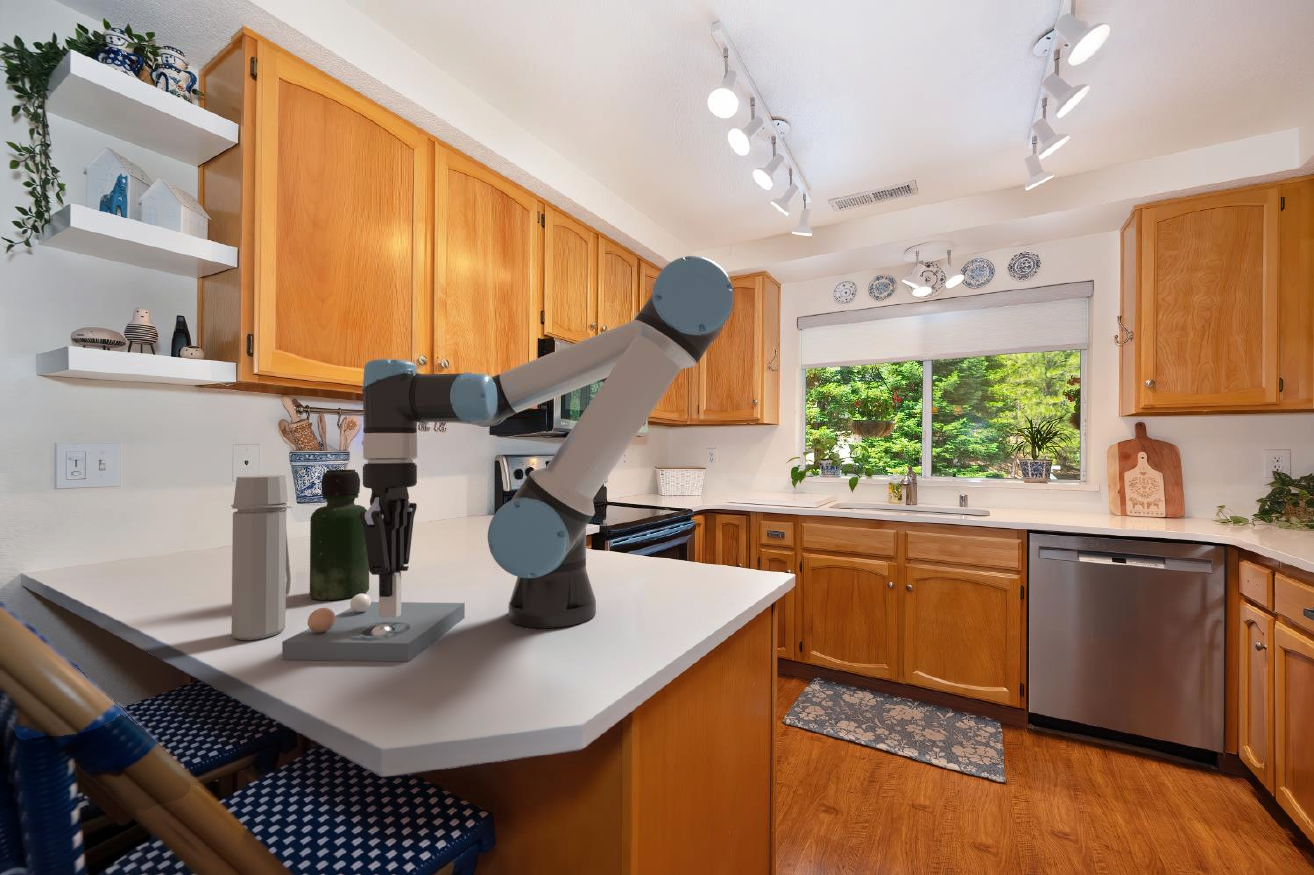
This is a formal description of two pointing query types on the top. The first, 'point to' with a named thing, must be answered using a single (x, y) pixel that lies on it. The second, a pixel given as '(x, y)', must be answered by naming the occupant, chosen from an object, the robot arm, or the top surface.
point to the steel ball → (381, 630)
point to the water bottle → (259, 557)
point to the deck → (356, 644)
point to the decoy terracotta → (321, 620)
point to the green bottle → (338, 540)
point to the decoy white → (360, 603)
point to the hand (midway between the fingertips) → (390, 615)
